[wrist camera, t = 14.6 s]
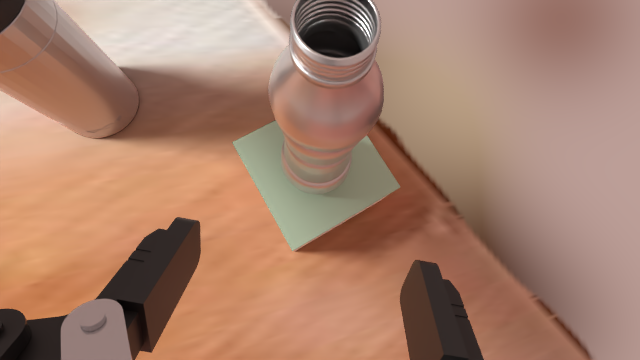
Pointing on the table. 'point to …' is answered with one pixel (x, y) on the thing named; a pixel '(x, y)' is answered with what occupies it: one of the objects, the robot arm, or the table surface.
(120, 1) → the table surface
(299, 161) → the plastic bottle
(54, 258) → the table surface
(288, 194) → the raised stand
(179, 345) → the table surface
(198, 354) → the table surface
